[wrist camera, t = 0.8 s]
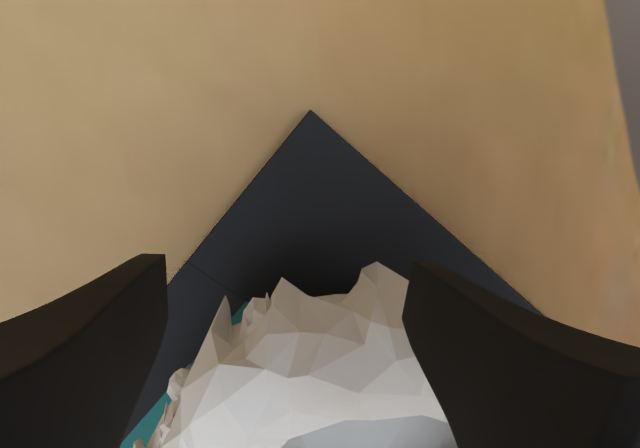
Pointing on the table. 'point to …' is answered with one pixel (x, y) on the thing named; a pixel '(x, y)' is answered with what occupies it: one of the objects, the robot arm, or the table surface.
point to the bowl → (307, 376)
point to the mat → (299, 248)
